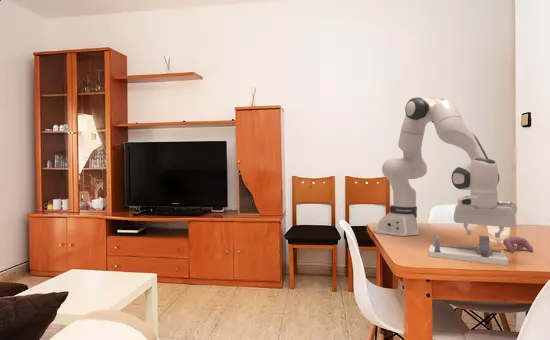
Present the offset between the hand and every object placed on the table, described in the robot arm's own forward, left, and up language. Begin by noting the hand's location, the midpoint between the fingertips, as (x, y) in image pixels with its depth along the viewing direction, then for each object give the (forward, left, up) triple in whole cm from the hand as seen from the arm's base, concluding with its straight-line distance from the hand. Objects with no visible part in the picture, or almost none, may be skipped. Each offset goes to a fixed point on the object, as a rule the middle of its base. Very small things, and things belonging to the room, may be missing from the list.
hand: (482, 236), depth 130 cm
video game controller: (+14, +19, -9) cm, 25 cm away
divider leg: (0, -1, -6) cm, 6 cm away
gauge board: (-6, 0, -9) cm, 10 cm away
